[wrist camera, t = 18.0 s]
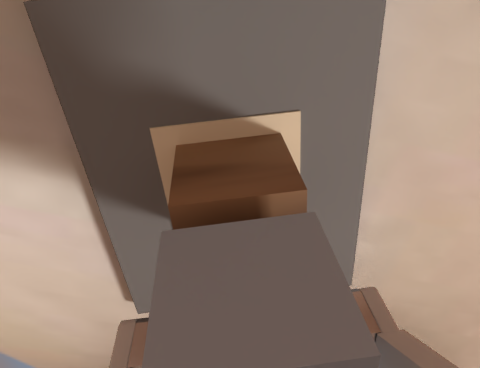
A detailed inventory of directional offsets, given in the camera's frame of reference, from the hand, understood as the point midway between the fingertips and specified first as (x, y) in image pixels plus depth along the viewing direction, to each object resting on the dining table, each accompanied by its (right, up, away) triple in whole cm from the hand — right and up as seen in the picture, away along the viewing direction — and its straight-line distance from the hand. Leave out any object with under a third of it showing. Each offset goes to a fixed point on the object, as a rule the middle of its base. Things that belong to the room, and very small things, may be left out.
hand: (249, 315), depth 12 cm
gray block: (0, +1, +1) cm, 2 cm away
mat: (-1, +5, +7) cm, 9 cm away
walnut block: (-1, +4, +7) cm, 8 cm away
